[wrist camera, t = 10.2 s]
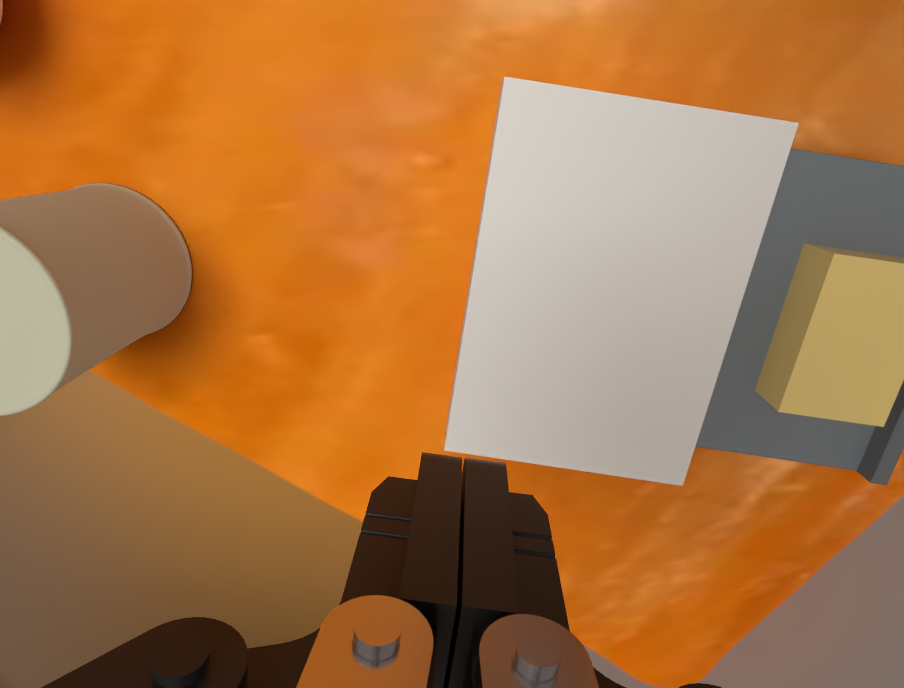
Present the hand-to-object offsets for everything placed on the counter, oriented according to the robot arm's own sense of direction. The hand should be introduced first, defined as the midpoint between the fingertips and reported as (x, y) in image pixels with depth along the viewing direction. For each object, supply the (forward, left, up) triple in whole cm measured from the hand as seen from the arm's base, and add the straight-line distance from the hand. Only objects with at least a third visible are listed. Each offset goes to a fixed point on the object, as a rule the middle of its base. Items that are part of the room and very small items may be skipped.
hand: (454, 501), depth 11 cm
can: (+4, -21, -26) cm, 33 cm away
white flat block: (+1, +7, -26) cm, 27 cm away
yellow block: (+1, +21, -24) cm, 32 cm away
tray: (+1, +21, -26) cm, 33 cm away
